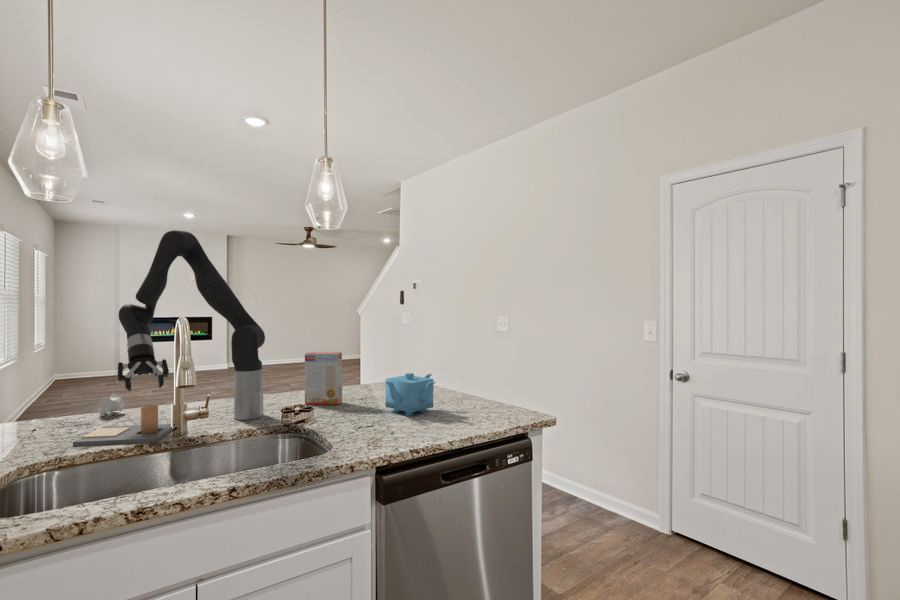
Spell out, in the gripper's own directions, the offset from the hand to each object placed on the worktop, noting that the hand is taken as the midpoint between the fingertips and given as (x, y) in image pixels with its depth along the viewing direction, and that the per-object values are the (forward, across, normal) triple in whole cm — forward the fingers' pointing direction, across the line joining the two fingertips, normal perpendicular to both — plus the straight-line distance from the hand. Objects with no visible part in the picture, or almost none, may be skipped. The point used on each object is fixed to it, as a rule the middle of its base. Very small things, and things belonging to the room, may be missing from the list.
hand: (145, 387), depth 153 cm
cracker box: (+12, +61, +8) cm, 63 cm away
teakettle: (+36, +81, -17) cm, 90 cm away
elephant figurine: (-11, -7, +30) cm, 33 cm away
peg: (+16, 0, +3) cm, 16 cm away
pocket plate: (+14, -5, +5) cm, 16 cm away
